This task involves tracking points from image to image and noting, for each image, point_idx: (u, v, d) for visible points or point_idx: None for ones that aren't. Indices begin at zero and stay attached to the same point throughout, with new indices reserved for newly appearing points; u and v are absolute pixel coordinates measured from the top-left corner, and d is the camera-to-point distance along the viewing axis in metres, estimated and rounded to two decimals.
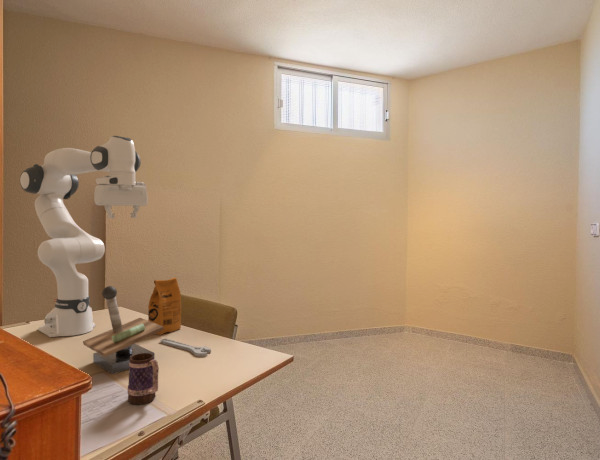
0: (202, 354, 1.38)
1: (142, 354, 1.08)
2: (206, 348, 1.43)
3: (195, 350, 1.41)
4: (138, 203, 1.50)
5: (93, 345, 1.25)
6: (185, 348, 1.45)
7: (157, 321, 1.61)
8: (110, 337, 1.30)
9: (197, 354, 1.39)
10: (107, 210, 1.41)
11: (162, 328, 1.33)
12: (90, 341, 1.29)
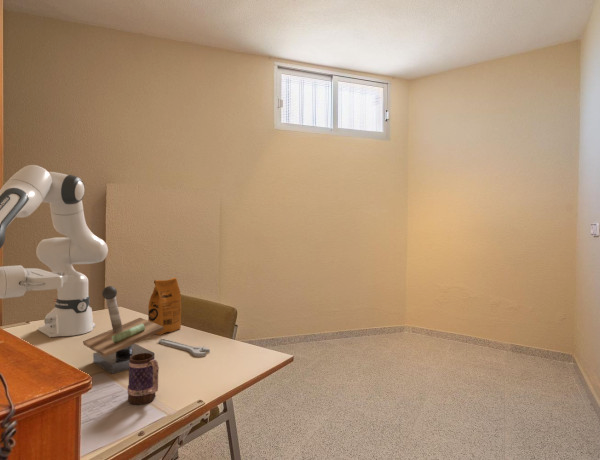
0: (201, 354, 1.38)
1: (142, 354, 1.09)
2: (205, 348, 1.43)
3: (194, 350, 1.41)
4: None
5: (93, 345, 1.25)
6: (184, 348, 1.45)
7: (157, 321, 1.61)
8: (110, 337, 1.30)
9: (196, 354, 1.39)
10: None
11: (162, 328, 1.33)
12: (90, 341, 1.29)
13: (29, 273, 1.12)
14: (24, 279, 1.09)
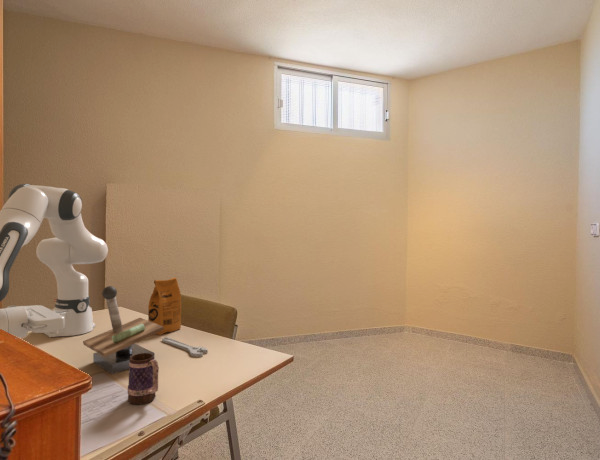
0: (197, 354, 1.38)
1: (142, 354, 1.08)
2: (203, 348, 1.43)
3: (192, 350, 1.41)
4: None
5: (93, 345, 1.25)
6: (183, 348, 1.45)
7: (157, 321, 1.61)
8: (110, 337, 1.30)
9: (193, 354, 1.38)
10: None
11: (162, 328, 1.33)
12: (90, 341, 1.29)
13: (31, 314, 1.13)
14: (26, 321, 1.10)
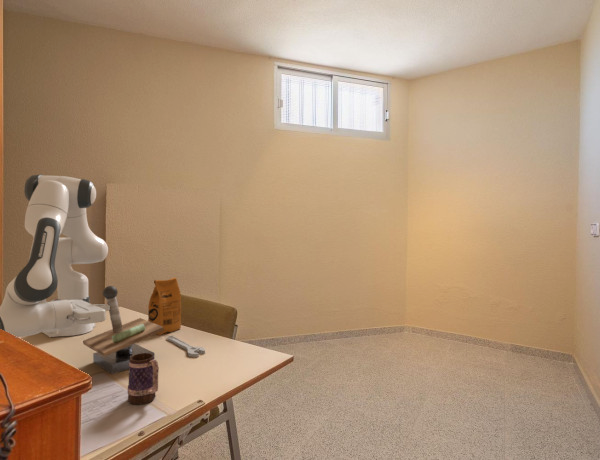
0: (193, 354, 1.38)
1: (142, 354, 1.09)
2: (201, 349, 1.43)
3: (189, 350, 1.41)
4: None
5: (93, 345, 1.25)
6: (183, 347, 1.46)
7: (157, 321, 1.61)
8: (110, 337, 1.30)
9: (189, 354, 1.38)
10: None
11: (162, 328, 1.33)
12: (90, 341, 1.29)
13: (75, 307, 1.21)
14: (71, 313, 1.19)
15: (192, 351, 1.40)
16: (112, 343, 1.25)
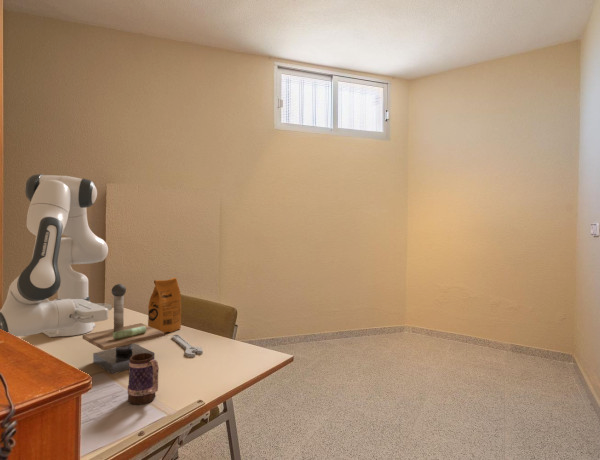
0: (190, 354, 1.38)
1: (142, 354, 1.08)
2: (199, 349, 1.42)
3: (187, 350, 1.41)
4: None
5: (93, 339, 1.25)
6: (184, 346, 1.47)
7: (157, 321, 1.61)
8: (110, 335, 1.30)
9: (186, 354, 1.39)
10: None
11: (163, 334, 1.34)
12: (90, 335, 1.28)
13: (77, 306, 1.22)
14: (74, 312, 1.19)
15: (189, 351, 1.40)
16: (112, 340, 1.25)
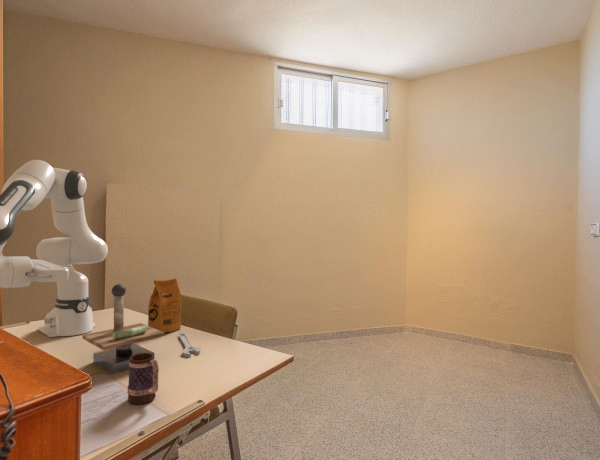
0: (186, 354, 1.38)
1: (142, 354, 1.09)
2: (197, 349, 1.42)
3: (185, 349, 1.42)
4: None
5: (93, 339, 1.25)
6: (184, 346, 1.47)
7: (157, 321, 1.61)
8: (110, 335, 1.30)
9: (182, 353, 1.39)
10: None
11: (163, 334, 1.34)
12: (90, 335, 1.28)
13: (35, 264, 1.13)
14: (31, 270, 1.10)
15: (187, 351, 1.40)
16: (112, 340, 1.25)
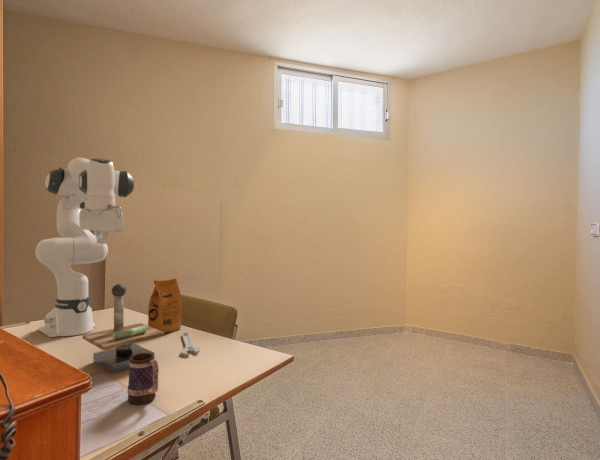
0: (184, 354, 1.38)
1: (142, 354, 1.08)
2: (196, 349, 1.42)
3: (184, 349, 1.42)
4: (106, 229, 1.36)
5: (93, 339, 1.25)
6: (185, 345, 1.48)
7: (157, 321, 1.61)
8: (110, 335, 1.30)
9: (181, 353, 1.39)
10: None
11: (163, 334, 1.34)
12: (90, 335, 1.28)
13: None
14: None
15: (185, 350, 1.40)
16: (112, 340, 1.25)
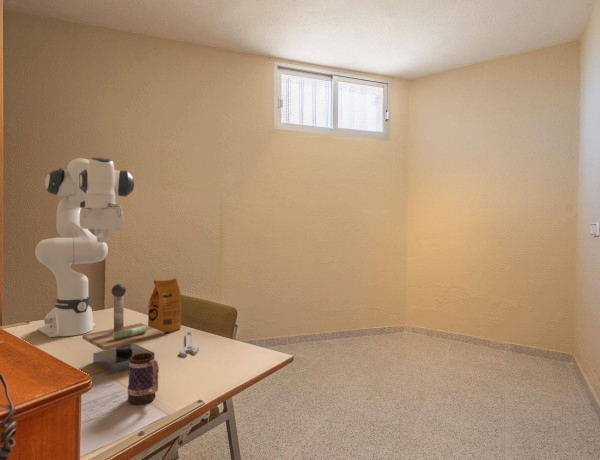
0: (181, 354, 1.38)
1: (142, 354, 1.08)
2: (194, 349, 1.42)
3: (184, 348, 1.42)
4: (107, 227, 1.36)
5: (93, 339, 1.25)
6: None
7: (157, 321, 1.61)
8: (110, 335, 1.30)
9: None
10: None
11: (163, 334, 1.34)
12: (90, 335, 1.28)
13: None
14: None
15: (184, 350, 1.41)
16: (112, 340, 1.25)
